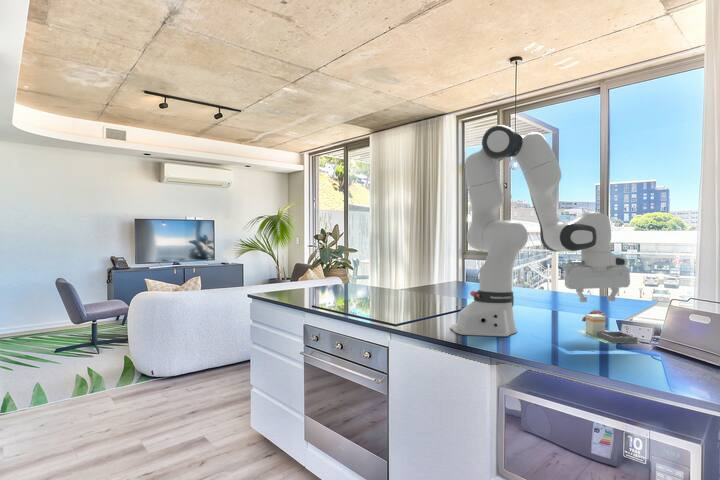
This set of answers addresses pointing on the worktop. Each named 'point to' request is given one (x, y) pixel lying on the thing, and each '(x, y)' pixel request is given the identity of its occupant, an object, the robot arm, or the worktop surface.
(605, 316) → the reddish-brown rounded lump
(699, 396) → the worktop surface
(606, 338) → the board
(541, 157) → the robot arm
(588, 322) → the plug
